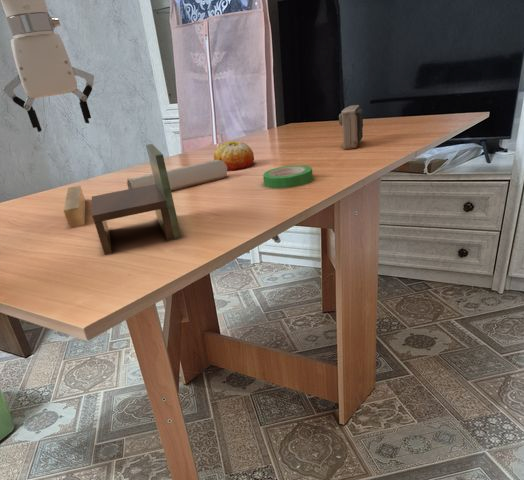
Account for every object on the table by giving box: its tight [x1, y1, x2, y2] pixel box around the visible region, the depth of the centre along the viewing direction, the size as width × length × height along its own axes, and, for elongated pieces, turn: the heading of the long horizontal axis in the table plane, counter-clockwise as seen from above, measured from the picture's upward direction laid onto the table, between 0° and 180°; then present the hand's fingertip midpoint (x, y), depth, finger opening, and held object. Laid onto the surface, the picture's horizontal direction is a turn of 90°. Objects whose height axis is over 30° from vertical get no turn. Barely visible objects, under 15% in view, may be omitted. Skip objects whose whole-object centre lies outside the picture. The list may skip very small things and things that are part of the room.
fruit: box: [213, 141, 255, 172], centre depth 127 cm, size 11×10×8 cm
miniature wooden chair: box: [91, 143, 182, 256], centre depth 82 cm, size 13×15×14 cm
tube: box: [126, 159, 228, 192], centre depth 114 cm, size 5×5×25 cm
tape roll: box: [262, 164, 314, 189], centre depth 105 cm, size 11×11×3 cm
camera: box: [338, 104, 364, 150], centre depth 132 cm, size 11×6×10 cm, turn 162°
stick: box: [63, 185, 86, 229], centre depth 105 cm, size 3×24×4 cm, turn 18°
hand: (63, 127), depth 97 cm, fingers open, 9 cm apart
